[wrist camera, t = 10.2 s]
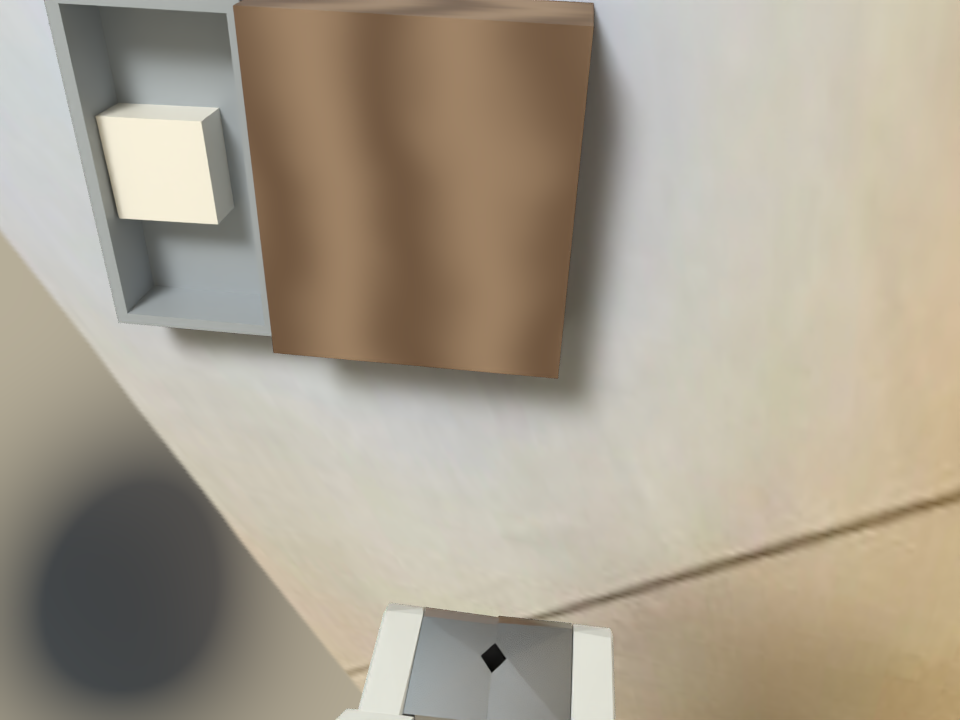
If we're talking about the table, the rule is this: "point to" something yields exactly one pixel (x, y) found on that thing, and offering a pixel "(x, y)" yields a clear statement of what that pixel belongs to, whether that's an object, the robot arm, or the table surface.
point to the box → (179, 82)
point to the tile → (166, 162)
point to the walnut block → (417, 175)
